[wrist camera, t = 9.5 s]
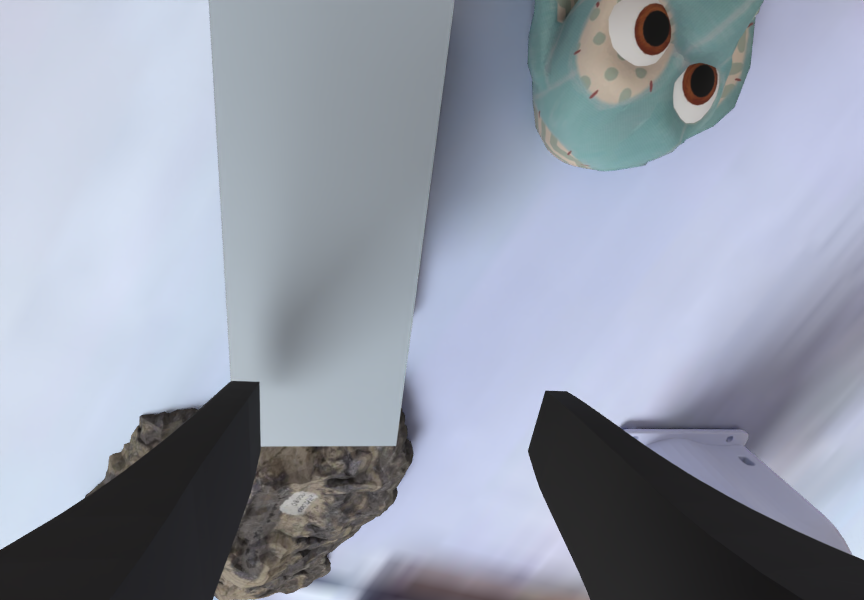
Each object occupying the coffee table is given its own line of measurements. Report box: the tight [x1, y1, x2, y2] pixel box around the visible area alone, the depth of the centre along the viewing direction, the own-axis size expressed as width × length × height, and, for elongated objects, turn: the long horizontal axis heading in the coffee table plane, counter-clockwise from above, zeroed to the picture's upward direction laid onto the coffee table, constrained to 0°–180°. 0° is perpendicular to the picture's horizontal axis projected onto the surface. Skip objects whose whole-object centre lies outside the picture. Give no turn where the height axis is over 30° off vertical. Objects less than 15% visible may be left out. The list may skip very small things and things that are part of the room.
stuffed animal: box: [528, 0, 764, 171], centre depth 14 cm, size 11×7×12 cm
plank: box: [209, 0, 455, 447], centre depth 12 cm, size 4×12×5 cm, turn 172°
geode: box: [85, 408, 413, 600], centre depth 22 cm, size 19×4×15 cm
